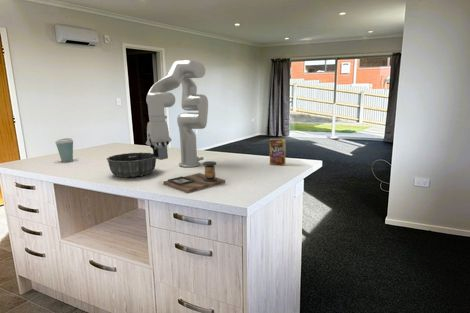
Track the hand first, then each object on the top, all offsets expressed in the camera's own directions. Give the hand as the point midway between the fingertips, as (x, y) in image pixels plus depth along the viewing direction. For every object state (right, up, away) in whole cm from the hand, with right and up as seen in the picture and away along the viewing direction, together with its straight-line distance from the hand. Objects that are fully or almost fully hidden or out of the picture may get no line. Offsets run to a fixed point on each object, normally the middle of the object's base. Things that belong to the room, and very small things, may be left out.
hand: (160, 155), depth 160 cm
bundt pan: (-18, -10, +17) cm, 27 cm away
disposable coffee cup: (-75, -4, +55) cm, 93 cm away
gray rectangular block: (+1, -1, 0) cm, 2 cm away
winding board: (+18, -14, -5) cm, 23 cm away
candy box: (+63, -5, +31) cm, 70 cm away
